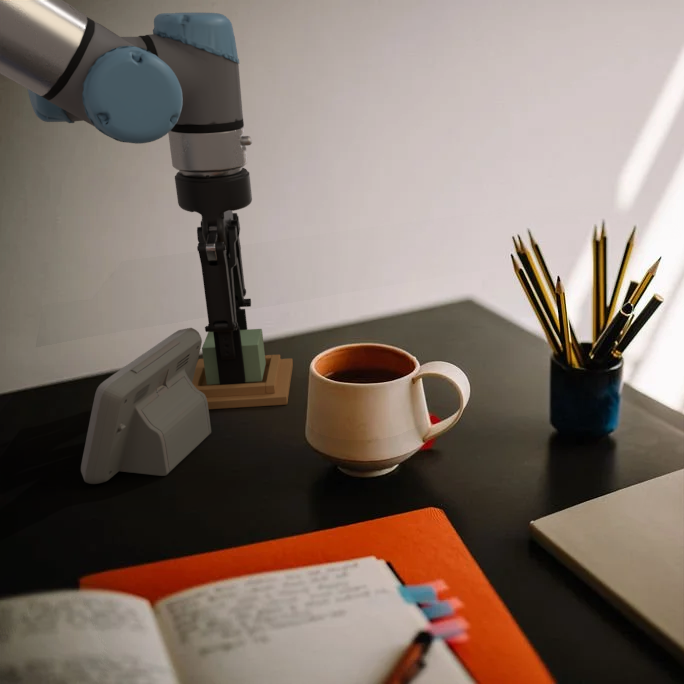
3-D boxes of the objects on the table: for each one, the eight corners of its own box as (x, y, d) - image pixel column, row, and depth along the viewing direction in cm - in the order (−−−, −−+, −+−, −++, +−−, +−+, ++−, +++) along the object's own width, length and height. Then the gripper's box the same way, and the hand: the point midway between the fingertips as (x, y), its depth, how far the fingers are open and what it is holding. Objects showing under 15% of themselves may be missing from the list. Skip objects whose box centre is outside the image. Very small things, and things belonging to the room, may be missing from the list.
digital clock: (175, 410, 99) (162, 318, 95) (243, 425, 95) (233, 331, 91) (55, 481, 85) (33, 377, 81) (130, 501, 81) (112, 394, 77)
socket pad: (174, 411, 98) (171, 395, 97) (190, 371, 108) (188, 355, 108) (287, 404, 100) (285, 388, 99) (293, 365, 110) (291, 350, 109)
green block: (206, 385, 101) (201, 347, 99) (213, 367, 105) (208, 331, 104) (262, 381, 102) (257, 344, 100) (265, 364, 106) (261, 328, 105)
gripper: (238, 186, 87) (262, 404, 96) (256, 152, 104) (275, 341, 112) (157, 189, 86) (188, 409, 95) (188, 154, 102) (212, 344, 111)
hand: (235, 371), depth 103 cm, fingers closed on green block, 5 cm apart
